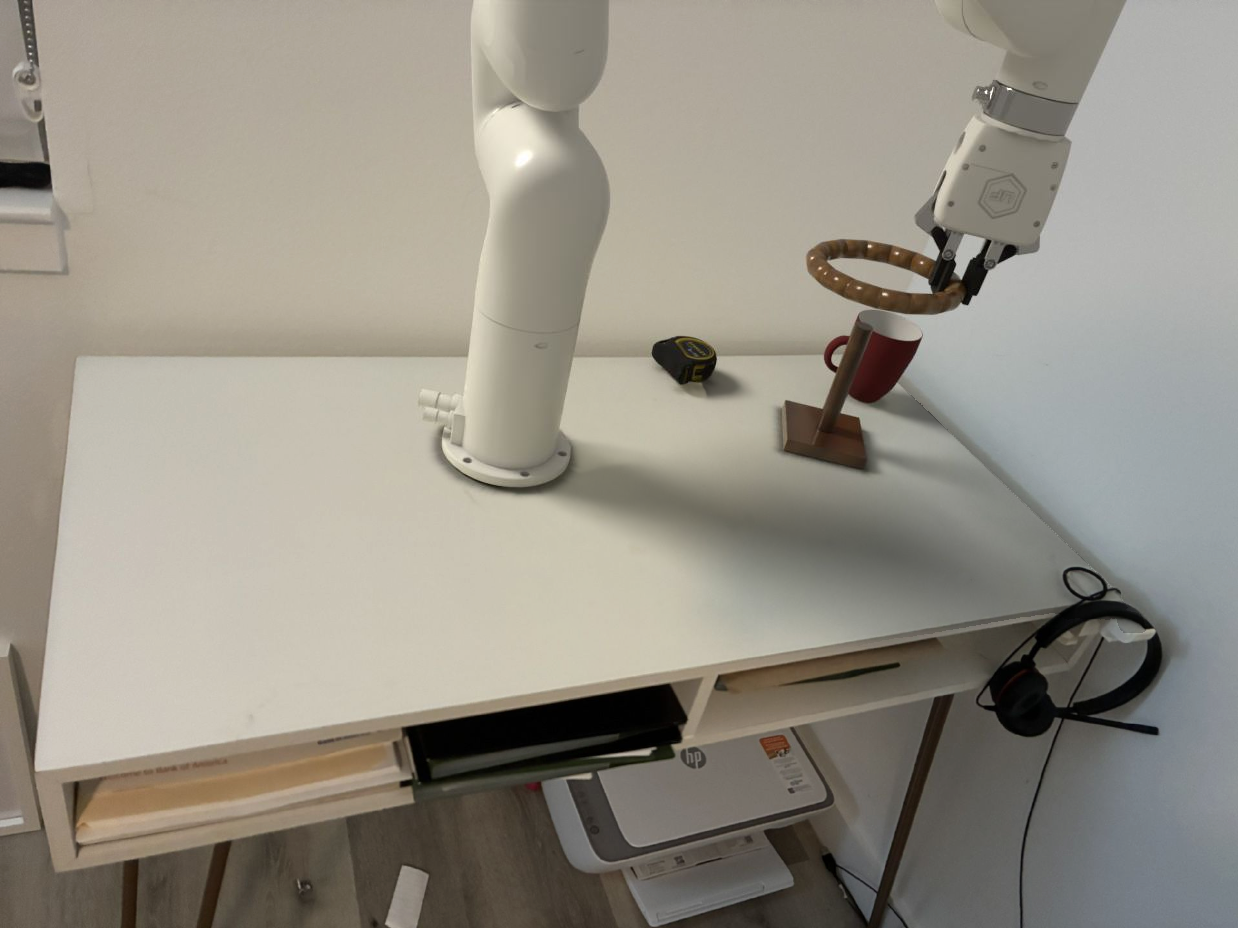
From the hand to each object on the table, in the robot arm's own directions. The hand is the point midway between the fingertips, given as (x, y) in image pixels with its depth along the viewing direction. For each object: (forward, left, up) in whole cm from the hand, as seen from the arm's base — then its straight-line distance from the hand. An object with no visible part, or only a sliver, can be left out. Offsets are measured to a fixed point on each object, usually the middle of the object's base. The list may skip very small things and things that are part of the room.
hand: (949, 295), depth 93 cm
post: (-7, 0, -20) cm, 21 cm away
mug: (-2, +13, -20) cm, 24 cm away
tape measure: (-24, +7, -20) cm, 32 cm away
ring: (-7, 0, 0) cm, 7 cm away
